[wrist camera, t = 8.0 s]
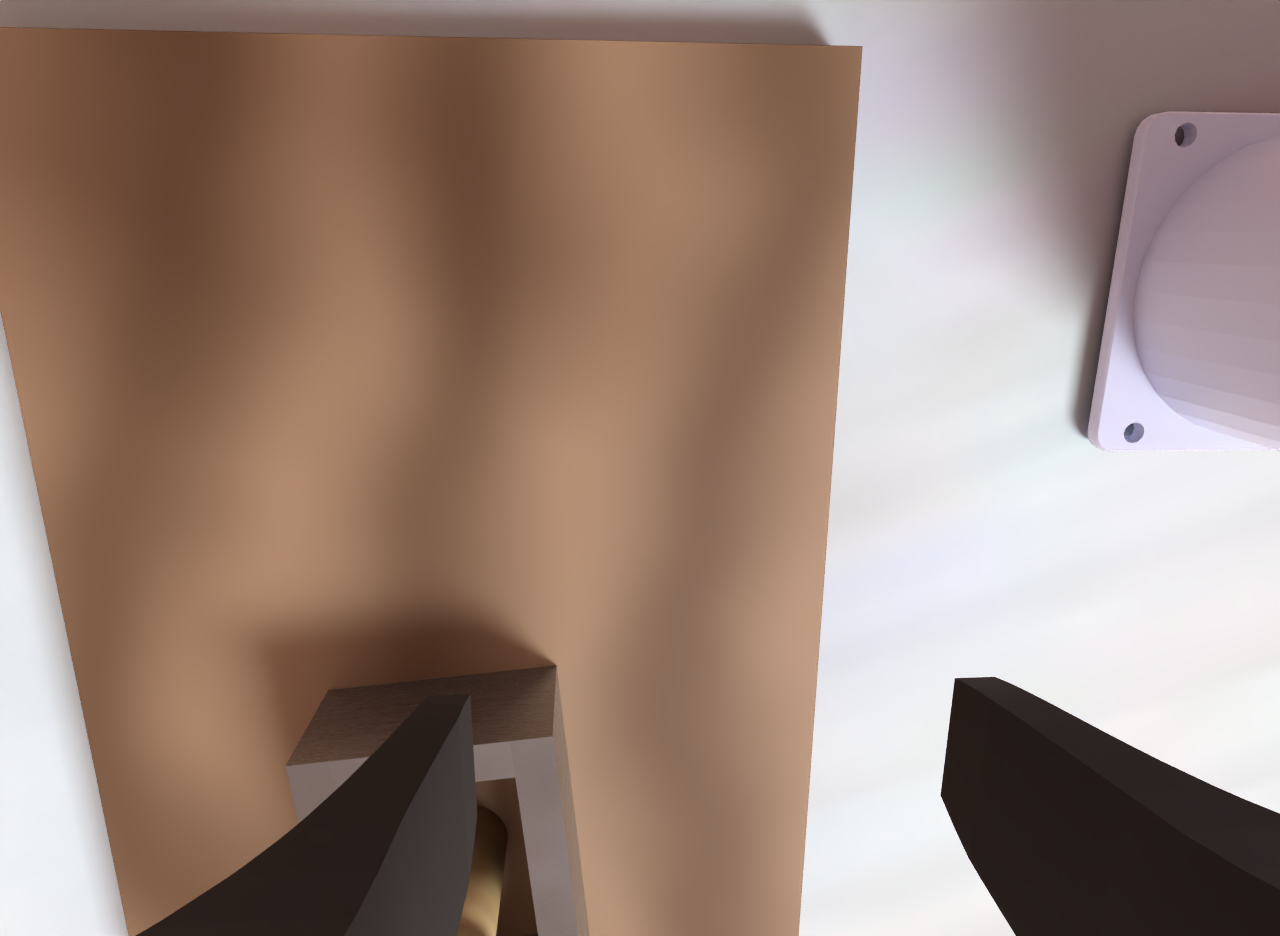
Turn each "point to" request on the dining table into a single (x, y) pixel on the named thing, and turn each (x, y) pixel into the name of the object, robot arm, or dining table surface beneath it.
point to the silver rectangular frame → (503, 748)
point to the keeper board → (438, 427)
